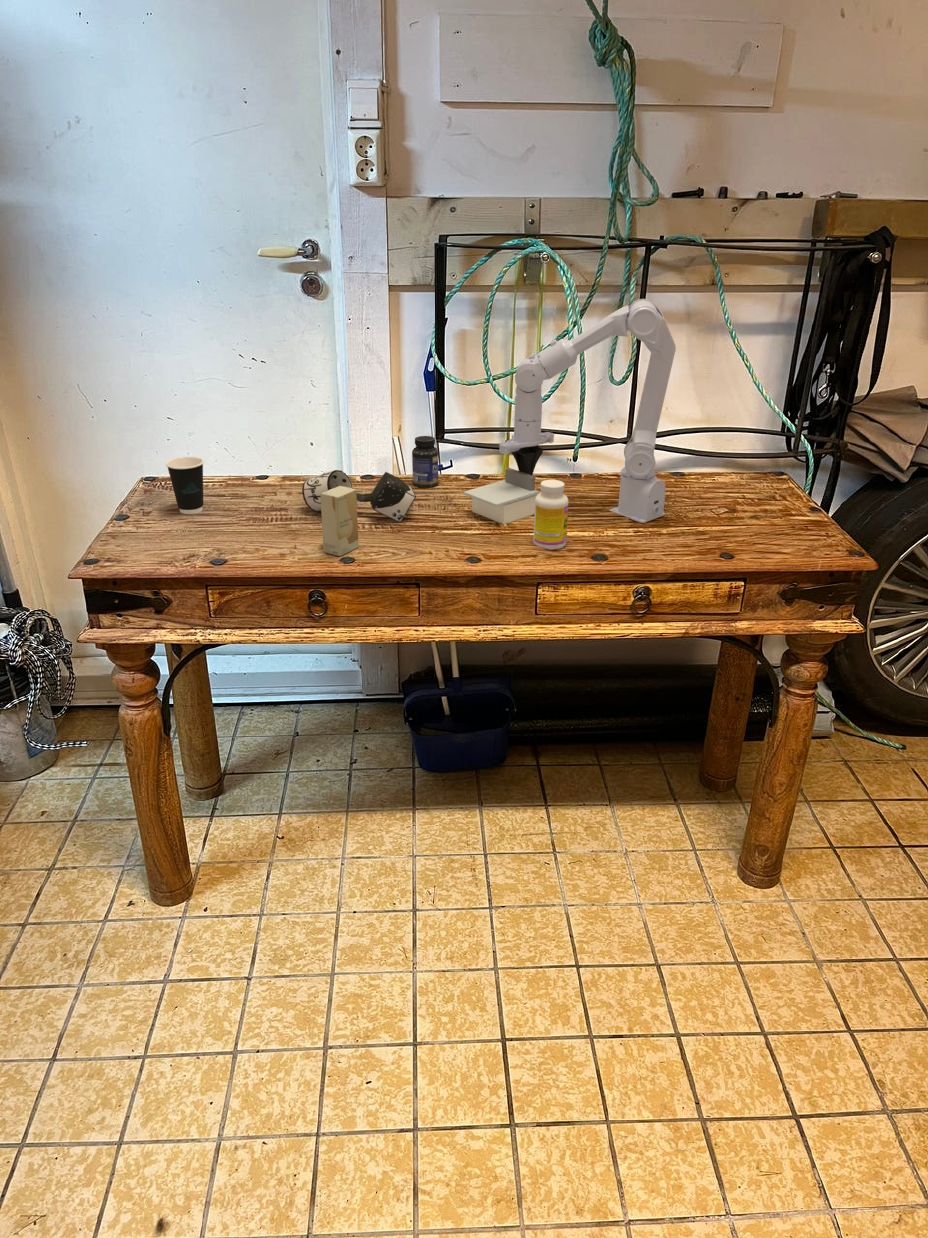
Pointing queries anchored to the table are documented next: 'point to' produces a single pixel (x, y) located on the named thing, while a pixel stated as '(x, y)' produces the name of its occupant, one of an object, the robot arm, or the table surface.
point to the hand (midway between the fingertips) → (525, 479)
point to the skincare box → (339, 520)
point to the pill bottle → (425, 462)
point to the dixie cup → (187, 483)
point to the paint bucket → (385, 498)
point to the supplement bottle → (551, 516)
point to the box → (506, 509)
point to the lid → (505, 489)
